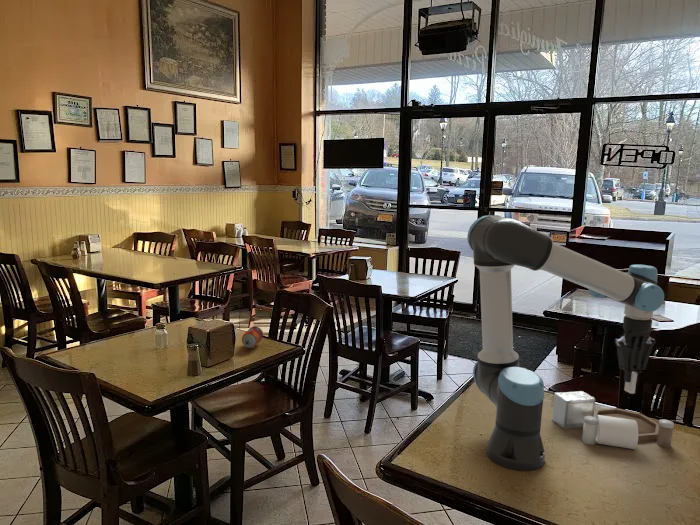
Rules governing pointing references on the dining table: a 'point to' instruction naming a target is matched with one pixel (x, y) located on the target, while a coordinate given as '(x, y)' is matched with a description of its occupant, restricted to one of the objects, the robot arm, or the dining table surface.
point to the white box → (572, 408)
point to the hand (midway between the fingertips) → (629, 391)
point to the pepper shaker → (665, 433)
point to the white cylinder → (617, 432)
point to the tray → (645, 424)
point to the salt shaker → (589, 430)
